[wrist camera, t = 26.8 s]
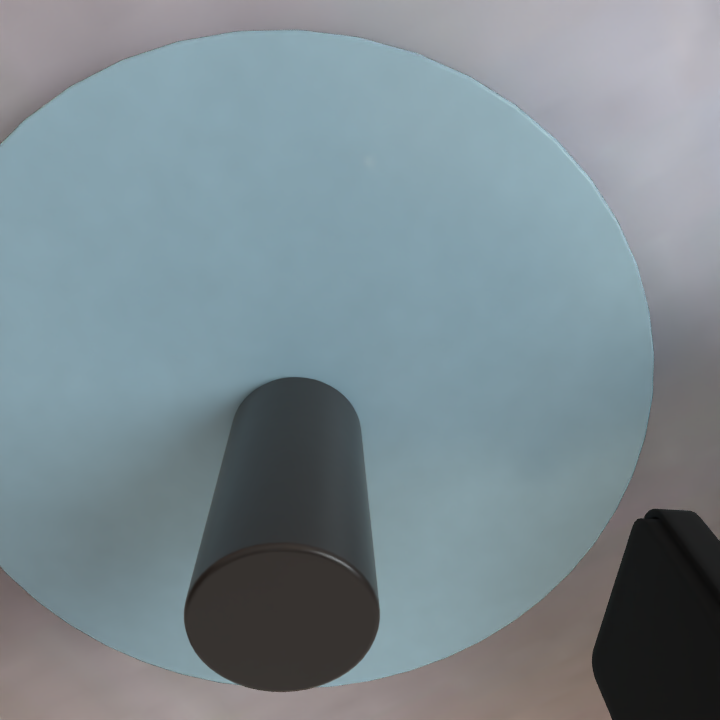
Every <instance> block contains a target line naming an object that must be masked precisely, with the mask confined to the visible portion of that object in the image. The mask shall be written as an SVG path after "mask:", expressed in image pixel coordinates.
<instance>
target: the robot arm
mask: <svg viewBox="0 0 720 720" xmlns="http://www.w3.org/2000/svg"><path fill="white" fill-rule="evenodd" d="M592 667H593V672H594V676H595V679H596V682H597V684H598V687H599V689H600V691H601V694H602V696H603V698H604V701H605V703H606V706H607V708H608V710H609V713H610V715H611V717H612V720H720V541H719V540H718V539H717V537H716V536H715V535H714V534H713V532H712V531H711V530H710V529H709V528H708V526H707V525H706V524H705V523H704V521H703V520H702V519H701V518H700V517H699V516H698V515H697V514H696V513H695V512H692V511H685V510H666V509H652V510H649V511H648V512H647V514H646V515H645V517H644V518H640V519H637V520H636V521H635V522H634V525H633V527H632V530H631V533H630V536H629V539H628V542H627V546H626V549H625V552H624V555H623V558H622V561H621V564H620V568H619V571H618V574H617V577H616V580H615V583H614V586H613V590H612V593H611V596H610V599H609V602H608V605H607V609H606V612H605V615H604V618H603V621H602V624H601V627H600V631H599V634H598V637H597V640H596V643H595V646H594V649H593V654H592Z"/></svg>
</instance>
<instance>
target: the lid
mask: <svg viewBox="0 0 720 720" xmlns="http://www.w3.org/2000/svg"><path fill="white" fill-rule="evenodd" d="M653 371H654V349H653V340H652V331H651V322H650V314H649V307H648V304H647V300H646V296H645V292H644V289H643V285H642V281H641V278H640V274H639V270H638V266H637V264H636V261H635V259H634V257H633V255H632V252H631V250H630V248H629V245H628V243H627V241H626V239H625V236H624V234H623V232H622V229H621V227H620V225H619V223H618V221H617V219H616V218H615V216H614V214H613V213H612V211H611V210H610V208H609V207H608V205H607V203H606V202H605V200H604V199H603V197H602V196H601V194H600V192H599V191H598V189H597V188H596V186H595V184H594V183H593V181H592V180H591V179H590V178H589V176H588V175H587V174H586V173H585V172H584V171H583V169H582V168H581V167H580V166H579V165H578V164H577V163H576V161H575V160H574V159H573V158H572V157H571V156H570V154H569V153H568V152H567V151H566V150H565V149H564V148H563V146H562V145H561V144H560V143H559V142H558V141H557V140H556V139H555V138H554V137H553V136H551V135H550V134H549V133H548V132H547V131H546V130H544V129H543V128H542V127H541V126H540V125H538V124H537V123H536V122H535V121H534V120H533V119H531V118H530V117H529V116H528V115H527V114H526V113H524V112H523V111H522V110H521V109H520V108H519V107H517V106H516V105H514V104H513V103H511V102H510V101H508V100H506V99H505V98H503V97H502V96H500V95H498V94H497V93H495V92H494V91H492V90H490V89H489V88H487V87H486V86H484V85H482V84H481V83H479V82H478V81H476V80H474V79H473V78H471V77H470V76H468V75H465V74H463V73H461V72H459V71H456V70H454V69H452V68H449V67H447V66H445V65H443V64H440V63H438V62H436V61H433V60H431V59H429V58H427V57H424V56H422V55H420V54H417V53H415V52H411V51H408V50H404V49H400V48H397V47H393V46H389V45H386V44H382V43H378V42H375V41H371V40H367V39H364V38H360V37H354V36H346V35H338V34H330V33H322V32H314V31H305V30H262V31H235V32H229V33H224V34H218V35H212V36H206V37H200V38H194V39H189V40H183V41H178V42H175V43H172V44H169V45H166V46H163V47H160V48H156V49H153V50H150V51H147V52H144V53H141V54H138V55H135V56H132V57H129V58H126V59H123V60H121V61H119V62H117V63H115V64H113V65H111V66H109V67H107V68H105V69H103V70H101V71H99V72H97V73H95V74H93V75H91V76H90V77H88V78H86V79H84V80H82V81H80V82H78V83H76V84H74V85H72V86H70V87H69V88H67V89H66V90H65V91H63V92H62V93H60V94H59V95H58V96H56V97H55V98H54V99H52V100H51V101H49V102H48V103H47V104H45V105H44V106H43V107H41V108H40V109H38V110H37V111H36V112H34V113H33V114H32V115H30V116H29V117H27V118H26V119H25V120H24V121H23V122H22V123H21V124H20V125H19V126H18V127H17V128H16V129H15V130H14V131H13V132H12V133H11V134H10V135H9V136H8V137H7V138H6V139H5V140H4V141H3V142H2V143H1V144H0V566H1V568H2V569H3V570H4V571H5V572H6V573H7V574H8V575H9V576H10V577H11V578H12V579H13V580H14V581H15V582H16V583H18V584H19V585H20V586H21V587H22V588H23V589H24V590H25V591H26V592H28V593H29V594H30V595H31V596H32V597H33V598H34V599H35V600H36V601H38V602H39V603H40V604H42V605H43V606H44V607H46V608H47V609H49V610H50V611H51V612H53V613H54V614H56V615H57V616H58V617H60V618H61V619H62V620H64V621H65V622H67V623H68V624H69V625H71V626H73V627H74V628H76V629H78V630H80V631H81V632H83V633H85V634H87V635H88V636H90V637H92V638H94V639H95V640H97V641H99V642H101V643H102V644H104V645H106V646H108V647H111V648H113V649H115V650H117V651H120V652H122V653H124V654H126V655H129V656H131V657H133V658H136V659H138V660H140V661H142V662H145V663H148V664H151V665H154V666H158V667H161V668H164V669H167V670H170V671H173V672H176V673H179V674H183V675H187V676H192V677H196V678H201V679H205V680H210V681H214V682H219V683H226V684H234V685H242V686H245V687H248V688H252V689H257V690H263V691H271V692H290V691H300V690H306V689H310V688H315V687H332V686H340V685H346V684H353V683H359V682H366V681H372V680H376V679H380V678H384V677H388V676H392V675H396V674H400V673H404V672H408V671H411V670H414V669H417V668H419V667H422V666H425V665H428V664H431V663H433V662H436V661H439V660H442V659H445V658H447V657H449V656H451V655H453V654H455V653H457V652H459V651H462V650H464V649H466V648H468V647H470V646H472V645H474V644H476V643H478V642H480V641H482V640H484V639H485V638H487V637H489V636H490V635H492V634H494V633H495V632H497V631H499V630H500V629H502V628H503V627H505V626H507V625H508V624H510V623H512V622H513V621H514V620H516V619H517V618H518V617H520V616H521V615H522V614H524V613H525V612H526V611H528V610H529V609H530V608H532V607H533V606H534V605H535V604H537V603H538V602H539V601H541V600H542V599H543V598H544V597H545V596H546V595H547V594H548V593H549V592H551V591H552V590H553V589H554V588H555V587H556V586H557V585H558V584H559V583H560V582H561V581H562V580H563V579H564V578H565V577H566V576H567V575H568V574H569V573H570V572H571V571H572V570H573V569H574V568H575V566H576V565H577V564H578V563H579V562H580V560H581V559H582V558H583V557H584V556H585V554H586V553H587V552H588V551H589V550H590V548H591V547H592V546H593V545H594V544H595V542H596V541H597V539H598V537H599V536H600V534H601V533H602V531H603V530H604V528H605V527H606V525H607V524H608V522H609V520H610V519H611V517H612V516H613V514H614V513H615V511H616V509H617V507H618V505H619V503H620V501H621V499H622V497H623V495H624V493H625V491H626V488H627V486H628V484H629V482H630V480H631V478H632V476H633V473H634V470H635V467H636V464H637V461H638V458H639V455H640V452H641V449H642V446H643V443H644V440H645V436H646V431H647V425H648V419H649V414H650V408H651V403H652V397H653Z"/></svg>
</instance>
